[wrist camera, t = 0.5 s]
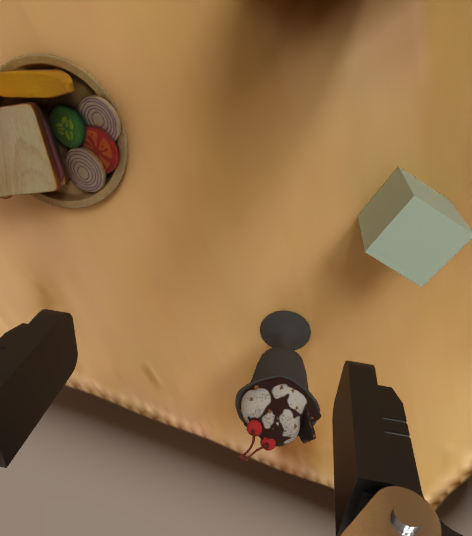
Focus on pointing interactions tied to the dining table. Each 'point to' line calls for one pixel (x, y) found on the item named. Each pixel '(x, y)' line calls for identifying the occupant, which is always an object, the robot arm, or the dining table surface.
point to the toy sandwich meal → (58, 133)
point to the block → (412, 228)
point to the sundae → (279, 387)
